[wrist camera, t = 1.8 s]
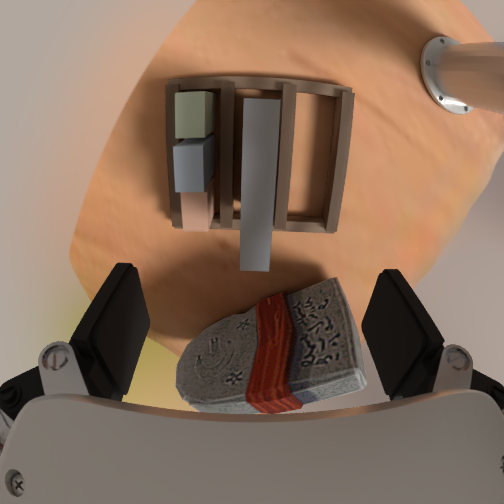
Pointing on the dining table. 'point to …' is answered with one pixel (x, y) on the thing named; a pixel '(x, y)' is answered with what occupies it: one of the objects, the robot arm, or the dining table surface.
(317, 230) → the walnut rack
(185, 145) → the slate offcut board
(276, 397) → the decorative stone tablet
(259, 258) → the charcoal panel
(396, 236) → the dining table surface
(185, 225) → the terracotta offcut board
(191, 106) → the sage offcut board
